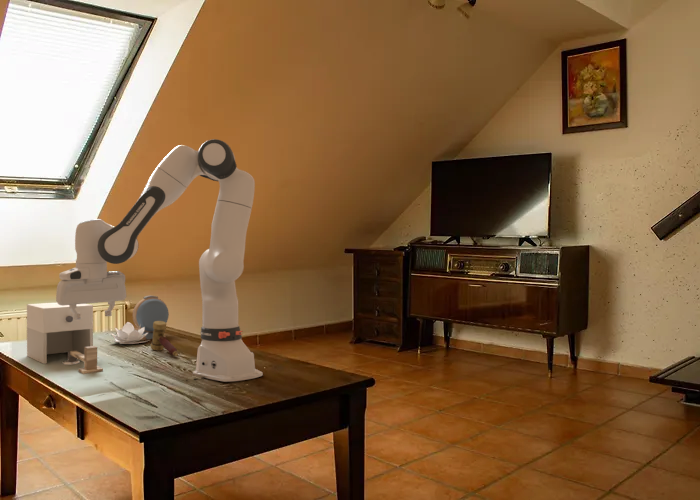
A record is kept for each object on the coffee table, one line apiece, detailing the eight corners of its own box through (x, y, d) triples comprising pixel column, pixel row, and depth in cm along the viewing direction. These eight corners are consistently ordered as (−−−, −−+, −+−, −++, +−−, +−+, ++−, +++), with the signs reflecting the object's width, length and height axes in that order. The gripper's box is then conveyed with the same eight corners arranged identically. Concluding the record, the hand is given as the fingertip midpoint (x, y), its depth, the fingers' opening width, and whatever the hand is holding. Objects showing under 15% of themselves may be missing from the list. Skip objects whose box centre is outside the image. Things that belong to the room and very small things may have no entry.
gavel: (181, 368, 221) (184, 341, 219) (168, 369, 219) (172, 342, 217) (161, 345, 238) (164, 320, 236) (149, 346, 235) (151, 320, 233)
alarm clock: (162, 335, 269) (162, 293, 268) (172, 338, 261) (172, 295, 261) (128, 339, 259) (128, 295, 259) (138, 342, 252) (138, 297, 252)
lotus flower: (155, 342, 253) (155, 320, 253) (139, 348, 238) (139, 325, 238) (121, 341, 255) (121, 319, 255) (102, 347, 240) (102, 324, 240)
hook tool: (102, 371, 197) (103, 347, 197) (83, 373, 193) (83, 349, 192) (80, 359, 211) (81, 337, 210) (62, 362, 207) (62, 339, 206)
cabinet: (94, 358, 218) (94, 305, 218) (44, 364, 207) (44, 308, 207) (74, 350, 232) (74, 301, 232) (27, 356, 221) (26, 304, 221)
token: (81, 364, 209) (81, 361, 209) (65, 366, 205) (65, 363, 205) (76, 362, 212) (76, 359, 212) (60, 364, 209) (60, 361, 209)
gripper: (120, 270, 204) (122, 313, 204) (53, 274, 190) (55, 320, 191) (129, 271, 199) (130, 315, 200) (60, 274, 186) (62, 322, 186)
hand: (93, 317), depth 195 cm, fingers open, 8 cm apart
